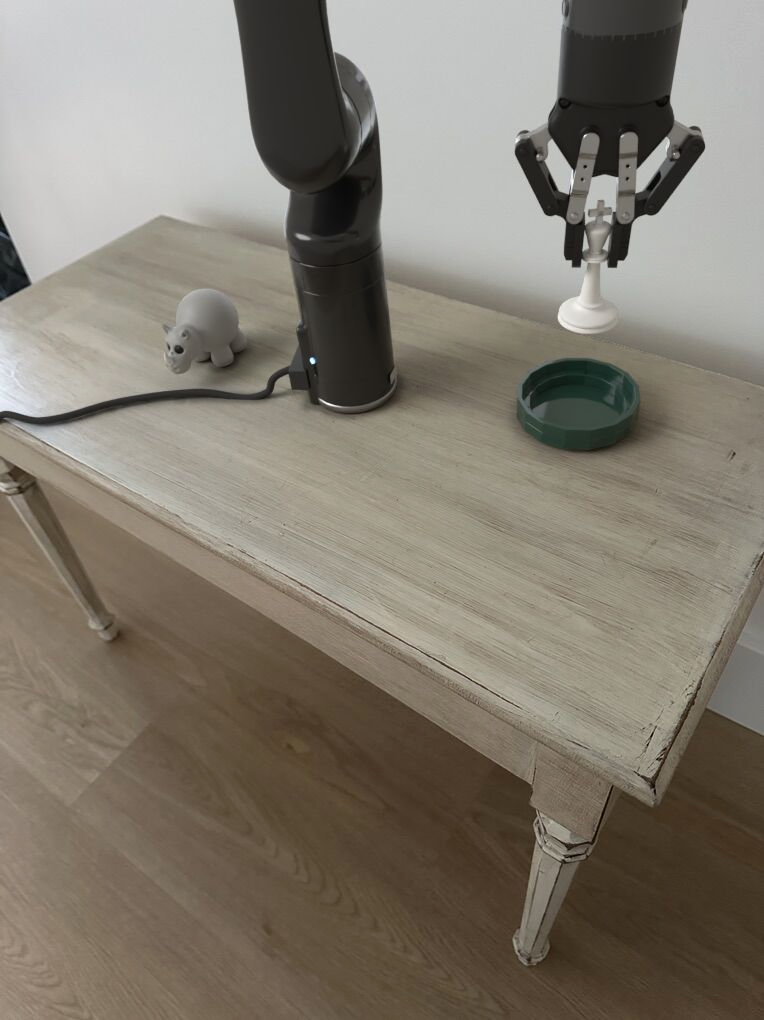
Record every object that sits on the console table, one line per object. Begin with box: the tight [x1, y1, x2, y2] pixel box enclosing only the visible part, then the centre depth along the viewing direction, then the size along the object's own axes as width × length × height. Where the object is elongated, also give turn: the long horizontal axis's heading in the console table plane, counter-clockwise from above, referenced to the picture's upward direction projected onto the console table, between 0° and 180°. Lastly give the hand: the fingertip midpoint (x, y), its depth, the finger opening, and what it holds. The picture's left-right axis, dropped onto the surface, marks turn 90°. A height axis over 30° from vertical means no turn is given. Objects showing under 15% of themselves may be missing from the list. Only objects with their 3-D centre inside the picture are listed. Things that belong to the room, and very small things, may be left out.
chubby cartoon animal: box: [161, 288, 248, 375], centre depth 92 cm, size 7×12×8 cm, turn 153°
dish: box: [516, 357, 642, 451], centre depth 81 cm, size 12×12×3 cm
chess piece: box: [557, 199, 619, 335], centre depth 63 cm, size 5×5×10 cm
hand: (593, 262), depth 63 cm, fingers closed on chess piece
